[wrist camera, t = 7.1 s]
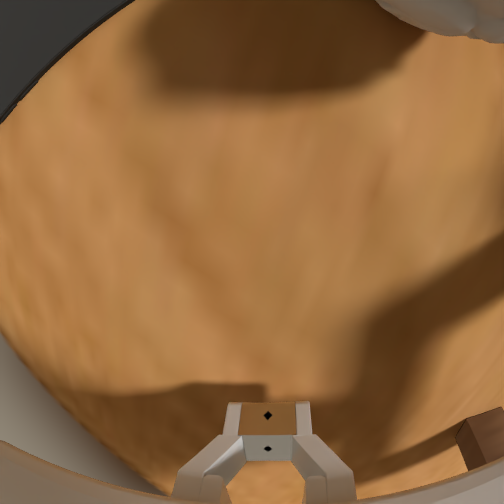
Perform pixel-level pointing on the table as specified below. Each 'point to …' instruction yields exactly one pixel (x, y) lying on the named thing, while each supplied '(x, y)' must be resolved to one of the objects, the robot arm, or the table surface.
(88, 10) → the phone
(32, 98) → the table surface
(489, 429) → the bridge
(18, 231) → the table surface
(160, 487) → the table surface
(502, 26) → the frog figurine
